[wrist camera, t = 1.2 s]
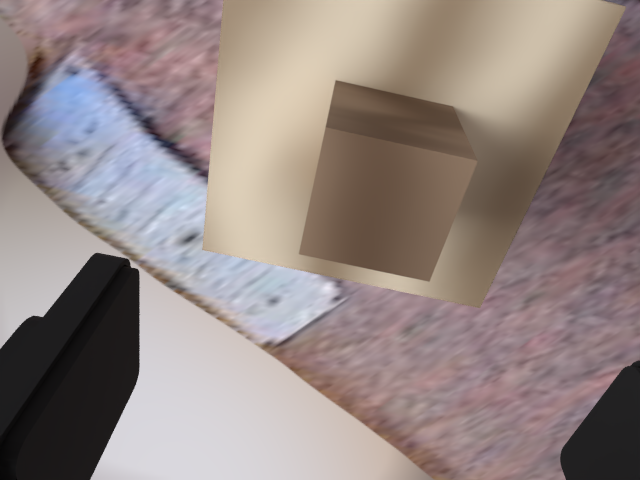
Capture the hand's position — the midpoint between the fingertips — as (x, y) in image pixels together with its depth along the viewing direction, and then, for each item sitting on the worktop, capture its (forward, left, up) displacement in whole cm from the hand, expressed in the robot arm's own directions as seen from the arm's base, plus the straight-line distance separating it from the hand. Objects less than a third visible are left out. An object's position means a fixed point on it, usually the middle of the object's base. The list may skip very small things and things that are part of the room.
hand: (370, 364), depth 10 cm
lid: (0, 0, -13) cm, 13 cm away
